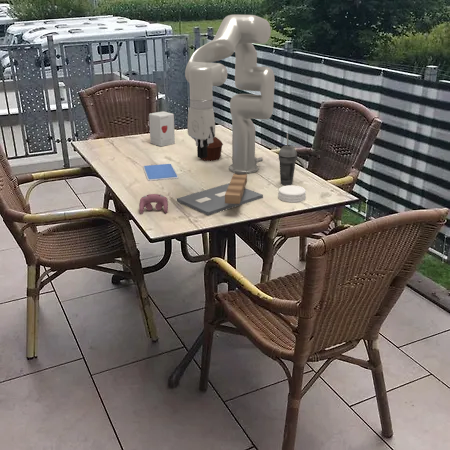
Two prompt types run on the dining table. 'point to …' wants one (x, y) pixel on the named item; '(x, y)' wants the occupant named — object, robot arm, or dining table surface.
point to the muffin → (214, 150)
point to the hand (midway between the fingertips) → (202, 157)
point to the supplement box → (162, 128)
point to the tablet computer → (160, 172)
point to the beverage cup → (287, 163)
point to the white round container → (291, 193)
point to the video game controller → (153, 198)
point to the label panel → (215, 199)
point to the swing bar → (236, 188)
